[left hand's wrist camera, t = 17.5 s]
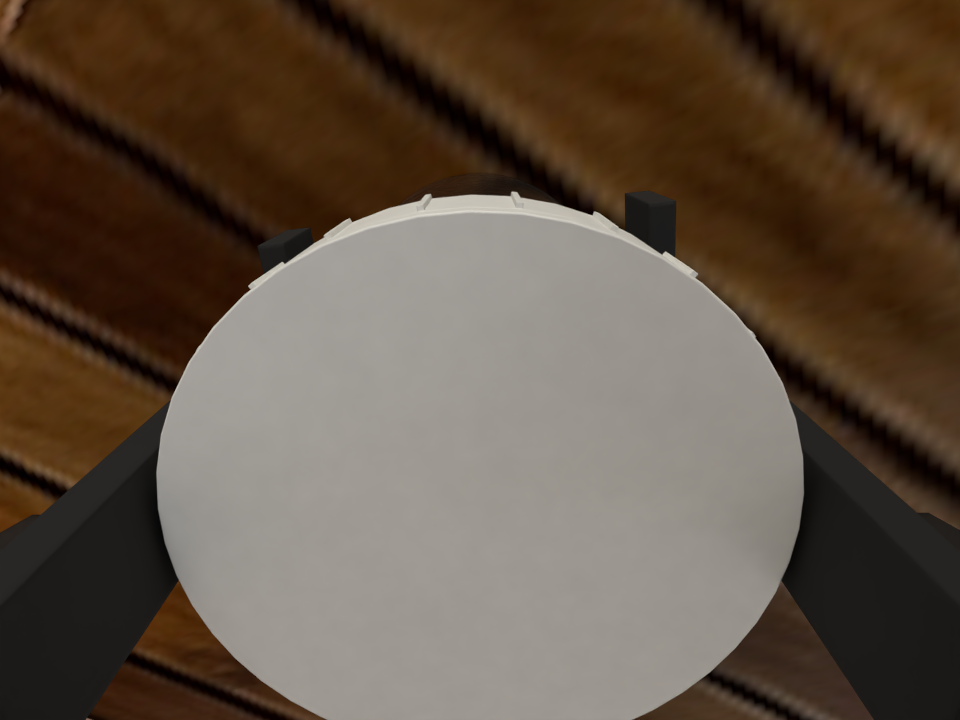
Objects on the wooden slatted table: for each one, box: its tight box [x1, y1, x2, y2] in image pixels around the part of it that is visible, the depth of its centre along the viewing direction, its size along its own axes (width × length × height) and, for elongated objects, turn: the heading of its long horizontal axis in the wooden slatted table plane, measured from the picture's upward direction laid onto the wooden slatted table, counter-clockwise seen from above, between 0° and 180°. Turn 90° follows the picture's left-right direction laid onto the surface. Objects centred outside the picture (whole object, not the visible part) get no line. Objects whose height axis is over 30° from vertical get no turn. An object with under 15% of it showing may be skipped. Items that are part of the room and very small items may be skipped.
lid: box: [156, 192, 804, 720], centre depth 11 cm, size 11×11×2 cm
